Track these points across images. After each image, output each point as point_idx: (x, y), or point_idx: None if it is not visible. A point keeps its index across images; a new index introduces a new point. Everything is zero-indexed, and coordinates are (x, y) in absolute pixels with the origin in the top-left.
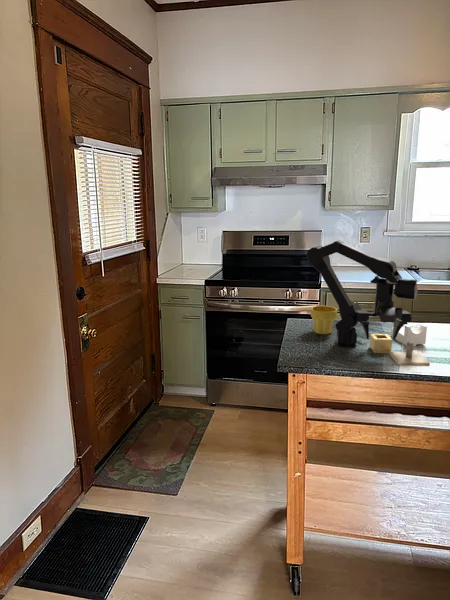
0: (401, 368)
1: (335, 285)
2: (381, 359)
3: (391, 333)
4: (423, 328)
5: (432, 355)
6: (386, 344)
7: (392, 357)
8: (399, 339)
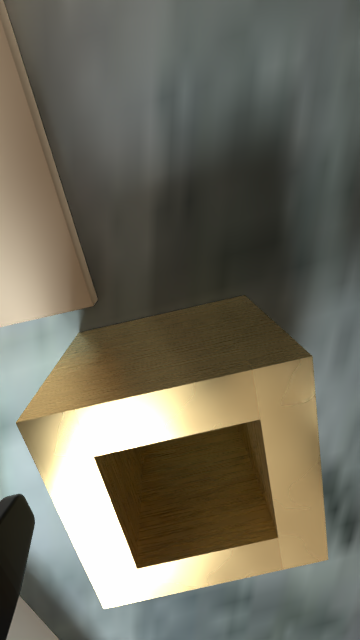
0: None
1: None
2: (180, 88)
3: None
4: None
5: None
6: (118, 359)
7: (57, 176)
8: (21, 624)
